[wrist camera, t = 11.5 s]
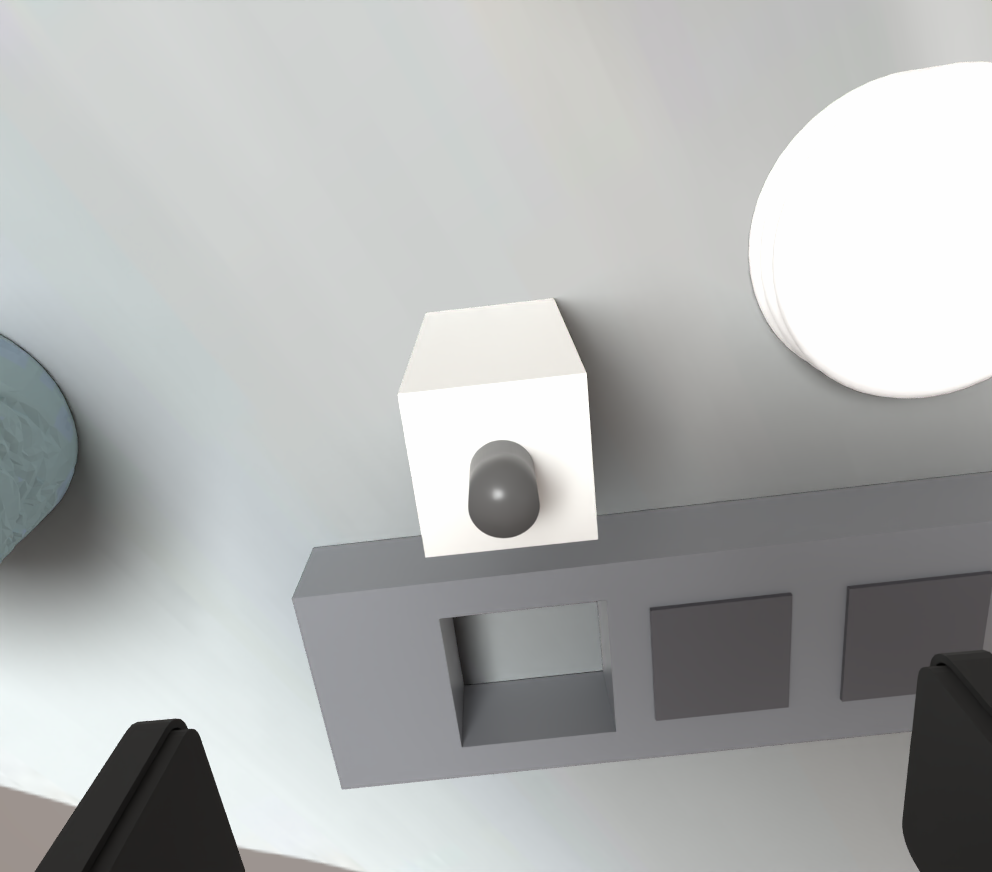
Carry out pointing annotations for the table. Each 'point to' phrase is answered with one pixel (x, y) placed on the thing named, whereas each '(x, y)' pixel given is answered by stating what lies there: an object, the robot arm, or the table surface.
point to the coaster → (885, 235)
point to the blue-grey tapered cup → (31, 445)
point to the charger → (498, 430)
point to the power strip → (655, 631)
